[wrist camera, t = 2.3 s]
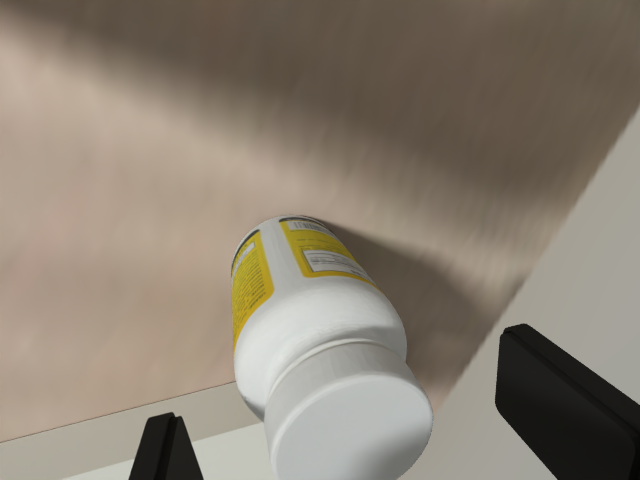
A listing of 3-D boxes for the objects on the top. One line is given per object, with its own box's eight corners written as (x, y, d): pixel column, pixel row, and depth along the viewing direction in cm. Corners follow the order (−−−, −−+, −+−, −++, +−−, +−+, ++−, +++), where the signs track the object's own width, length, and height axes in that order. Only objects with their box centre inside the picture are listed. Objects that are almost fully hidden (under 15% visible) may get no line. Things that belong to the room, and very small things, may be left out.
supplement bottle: (256, 330, 18) (283, 557, 9) (211, 237, 15) (187, 416, 7) (354, 290, 18) (473, 466, 9) (324, 195, 16) (443, 307, 7)
